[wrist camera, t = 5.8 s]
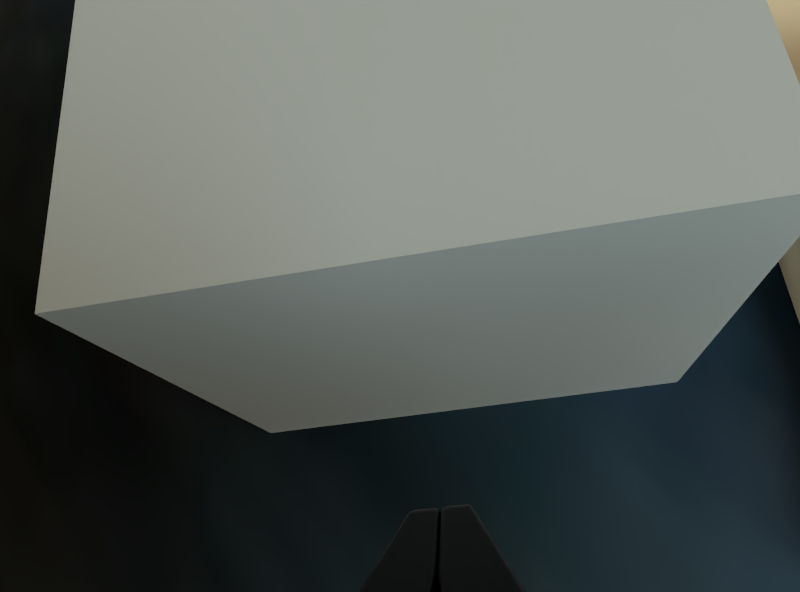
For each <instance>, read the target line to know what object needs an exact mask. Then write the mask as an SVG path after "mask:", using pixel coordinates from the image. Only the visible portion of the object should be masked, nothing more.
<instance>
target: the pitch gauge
mask: <svg viewBox="0 0 800 592" xmlns="http://www.w3.org/2000/svg"><path fill="white" fill-rule="evenodd" d="M766 1H767V3H768V6H769V8H770V11H771V13H772V16H773V18H774V21H775V24H776V26H777V29H778V31H779V34H780V36H781V39H782V41H783V44H784V46H785V49H786V51H787V54H788V56H789V59H790V61H791V64H792V66H793V69H794V72H795V74H796V77H797V79H798V82H799V84H800V0H766ZM778 262H779V265H780V268H781V270H782V273H783V276H784V279H785V282H786V285H787V288H788V291H789V294H790V297H791V300H792V303H793V306H794V309H795V312H796V315H797V317H798V320H799V323H800V236H799V237H798V239H797V240H796V241H795V242H794V243H793V245H792V246H791V247H790V248H789V249H788V250H787V252H786V253H785V254H784V255H783V256H782V258H781V259H780V260H779V261H778Z"/></svg>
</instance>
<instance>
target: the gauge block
mask: <svg viewBox="0 0 800 592" xmlns="http://www.w3.org/2000/svg"><path fill="white" fill-rule="evenodd" d="M799 236H800V84H799V82H798V79H797V77H796V74H795V72H794V69H793V66H792V64H791V61H790V59H789V56H788V54H787V51H786V49H785V46H784V44H783V41H782V39H781V36H780V34H779V31H778V29H777V26H776V24H775V21H774V18H773V16H772V13H771V11H770V8H769V6H768V3H767V1H766V0H75V8H74V16H73V23H72V31H71V39H70V46H69V54H68V62H67V70H66V77H65V85H64V93H63V100H62V108H61V116H60V123H59V131H58V139H57V146H56V154H55V162H54V169H53V177H52V185H51V192H50V200H49V208H48V216H47V223H46V231H45V239H44V246H43V254H42V262H41V269H40V277H39V285H38V292H37V300H36V308H35V314H36V315H38V316H40V317H42V318H44V319H46V320H48V321H50V322H52V323H54V324H56V325H58V326H60V327H62V328H64V329H66V330H68V331H70V332H72V333H74V334H76V335H78V336H80V337H82V338H84V339H86V340H88V341H90V342H92V343H94V344H95V345H97V346H99V347H101V348H103V349H105V350H107V351H109V352H111V353H113V354H115V355H117V356H119V357H121V358H123V359H125V360H127V361H129V362H131V363H133V364H135V365H137V366H139V367H141V368H143V369H145V370H147V371H149V372H151V373H153V374H155V375H157V376H159V377H161V378H163V379H165V380H167V381H169V382H171V383H173V384H175V385H177V386H179V387H181V388H183V389H185V390H187V391H189V392H190V393H192V394H194V395H196V396H198V397H200V398H202V399H204V400H206V401H208V402H210V403H212V404H214V405H216V406H218V407H220V408H222V409H224V410H226V411H228V412H230V413H232V414H234V415H236V416H238V417H240V418H242V419H244V420H246V421H248V422H250V423H252V424H254V425H256V426H258V427H260V428H262V429H264V430H266V431H268V432H270V433H275V432H283V431H291V430H299V429H307V428H315V427H323V426H331V425H339V424H347V423H355V422H363V421H371V420H378V419H386V418H394V417H402V416H410V415H418V414H426V413H434V412H442V411H450V410H458V409H466V408H474V407H482V406H490V405H498V404H506V403H514V402H522V401H530V400H538V399H546V398H554V397H562V396H570V395H578V394H586V393H594V392H602V391H610V390H617V389H625V388H633V387H641V386H649V385H657V384H665V383H673V382H678V380H679V379H680V378H681V377H682V376H683V375H684V373H685V372H686V371H687V370H688V369H689V367H690V366H691V365H692V364H693V363H694V361H695V360H696V359H697V358H698V357H699V355H700V354H701V353H702V352H703V351H704V349H705V348H706V347H707V346H708V345H709V344H710V342H711V341H712V340H713V339H714V338H715V336H716V335H717V334H718V333H719V332H720V330H721V329H722V328H723V327H724V326H725V324H726V323H727V322H728V321H729V320H730V318H731V317H732V316H733V315H734V314H735V313H736V311H737V310H738V309H739V308H740V307H741V305H742V304H743V303H744V302H745V301H746V299H747V298H748V297H749V296H750V295H751V293H752V292H753V291H754V290H755V289H756V287H757V286H758V285H759V284H760V283H761V281H762V280H763V279H764V278H765V277H766V276H767V274H768V273H769V272H770V271H771V270H772V268H773V267H774V266H775V265H776V264H777V262H778V261H779V260H780V259H781V258H782V256H783V255H784V254H785V253H786V252H787V250H788V249H789V248H790V247H791V246H792V245H793V243H794V242H795V241H796V240H797V239H798V237H799Z"/></svg>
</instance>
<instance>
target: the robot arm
mask: <svg viewBox="0 0 800 592" xmlns="http://www.w3.org/2000/svg"><path fill="white" fill-rule="evenodd" d="M360 592H526V591H525V590H524V588H523V587H522V585H521V583H520V582H519V580H518V579H517V577H516V575H515V574H514V572H513V571H512V569H511V567H510V566H509V564H508V563H507V561H506V559H505V558H504V556H503V555H502V553H501V551H500V550H499V548H498V547H497V545H496V543H495V542H494V540H493V538H492V537H491V535H490V534H489V532H488V530H487V529H486V527H485V526H484V524H483V522H482V521H481V519H480V518H479V516H478V514H477V513H476V511H475V510H474V508H473V507H472V506H471V505H469V504H462V505H454V506H446V507H443V508H442V510H441V512H440V510H439V509H437V508H428V509H420V510H413V511H411V512H409V513H408V514H407V516H406V518H405V519H404V521H403V522H402V524H401V526H400V527H399V529H398V530H397V532H396V534H395V535H394V537H393V538H392V540H391V542H390V543H389V545H388V546H387V548H386V550H385V551H384V553H383V555H382V556H381V558H380V559H379V561H378V563H377V564H376V566H375V567H374V569H373V571H372V572H371V574H370V575H369V577H368V579H367V580H366V582H365V584H364V585H363V587H362V588H361V590H360Z"/></svg>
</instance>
